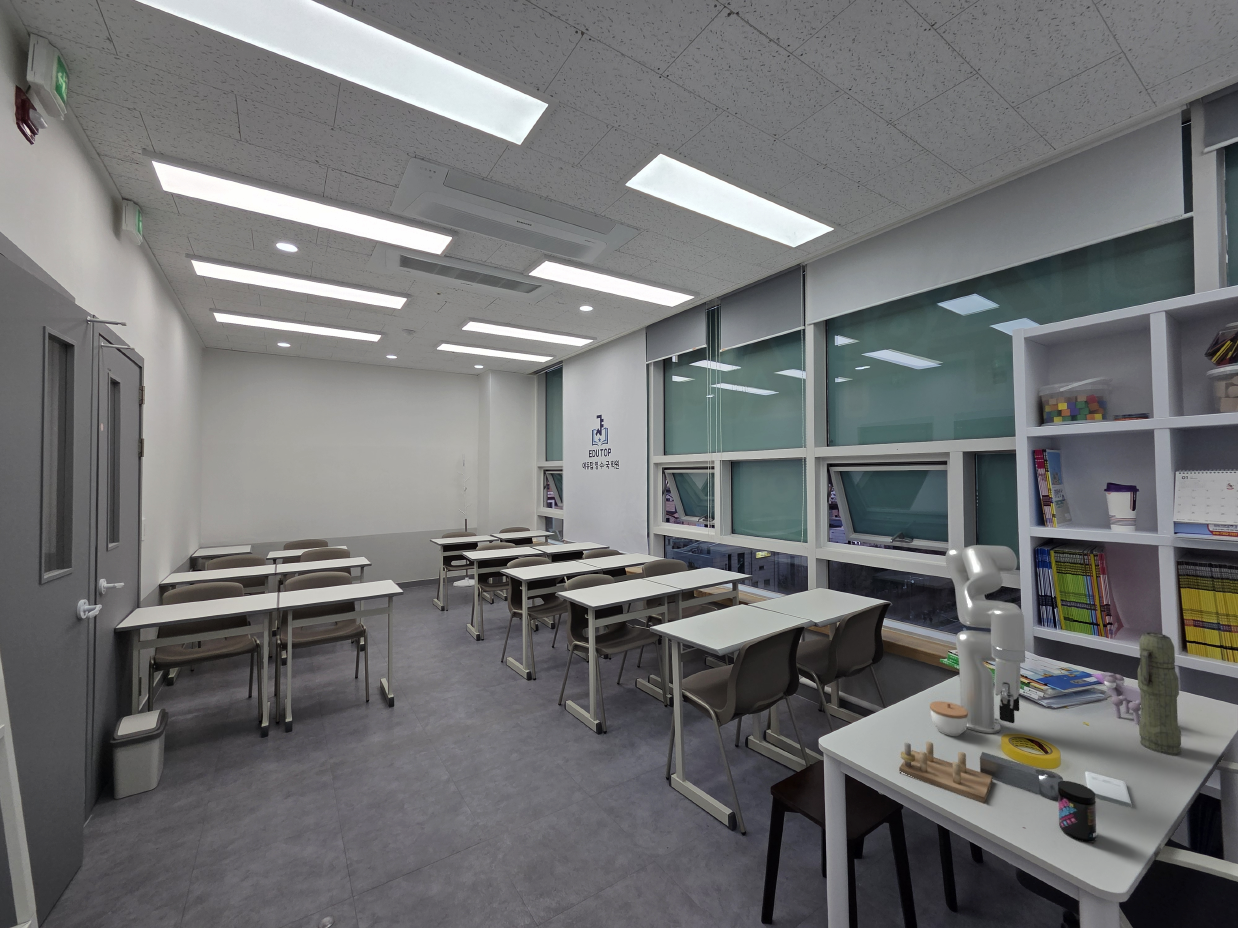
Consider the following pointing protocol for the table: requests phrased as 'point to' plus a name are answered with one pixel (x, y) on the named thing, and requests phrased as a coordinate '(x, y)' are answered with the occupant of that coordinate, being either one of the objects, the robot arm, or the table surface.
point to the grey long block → (1021, 775)
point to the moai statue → (1158, 694)
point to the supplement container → (1077, 811)
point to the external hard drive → (1108, 789)
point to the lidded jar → (949, 717)
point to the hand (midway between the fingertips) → (1009, 715)
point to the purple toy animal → (1121, 694)
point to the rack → (945, 773)
